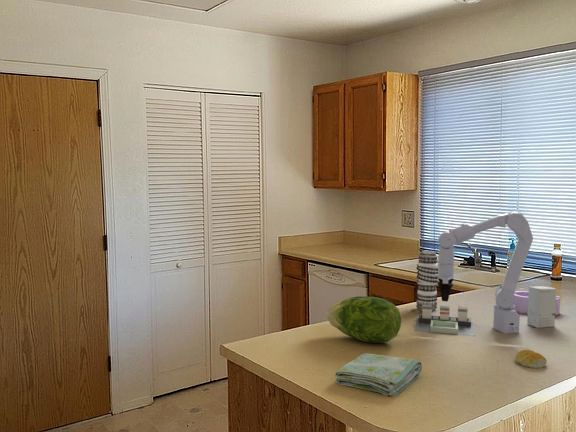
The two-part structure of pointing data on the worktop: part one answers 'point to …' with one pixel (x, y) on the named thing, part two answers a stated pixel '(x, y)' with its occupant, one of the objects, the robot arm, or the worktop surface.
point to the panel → (445, 326)
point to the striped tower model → (427, 279)
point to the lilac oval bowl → (522, 302)
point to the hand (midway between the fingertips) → (445, 298)
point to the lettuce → (366, 318)
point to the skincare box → (541, 306)
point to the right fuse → (462, 313)
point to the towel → (379, 373)
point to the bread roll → (530, 359)
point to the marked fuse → (444, 312)
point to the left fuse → (427, 311)
